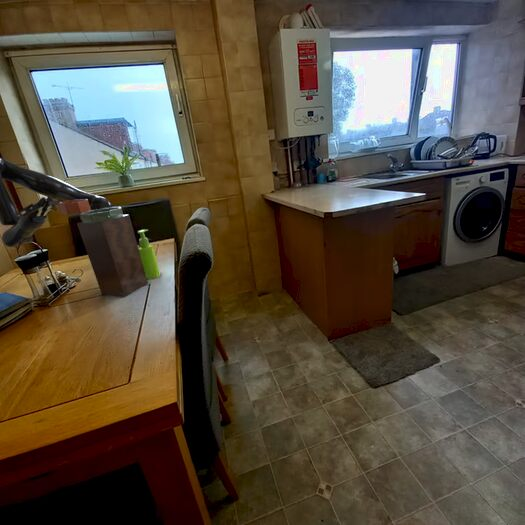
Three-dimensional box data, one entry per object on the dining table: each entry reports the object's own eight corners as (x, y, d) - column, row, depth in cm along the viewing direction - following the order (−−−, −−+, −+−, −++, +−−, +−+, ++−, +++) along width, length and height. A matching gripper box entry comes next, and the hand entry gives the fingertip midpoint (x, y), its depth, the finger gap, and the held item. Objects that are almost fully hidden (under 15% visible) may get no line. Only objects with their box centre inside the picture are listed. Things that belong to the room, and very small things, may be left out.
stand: (125, 280, 118) (103, 207, 107) (149, 282, 113) (128, 206, 102) (99, 295, 106) (71, 215, 95) (125, 297, 102) (98, 213, 91)
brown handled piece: (57, 209, 113) (54, 198, 111) (95, 209, 105) (92, 198, 104) (34, 214, 105) (30, 202, 104) (73, 214, 98) (69, 202, 96)
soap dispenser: (163, 271, 123) (152, 227, 116) (156, 278, 116) (144, 232, 109) (151, 272, 124) (139, 229, 116) (143, 279, 117) (130, 233, 110)
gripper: (6, 216, 108) (22, 192, 100) (43, 208, 120) (59, 187, 111) (19, 232, 109) (35, 210, 101) (54, 223, 121) (71, 203, 112)
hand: (48, 198), depth 106 cm, fingers closed on brown handled piece, 2 cm apart
